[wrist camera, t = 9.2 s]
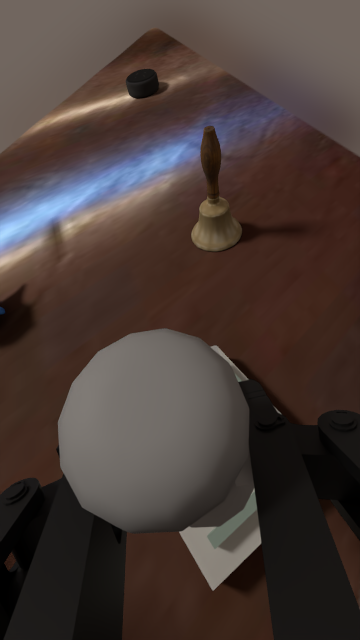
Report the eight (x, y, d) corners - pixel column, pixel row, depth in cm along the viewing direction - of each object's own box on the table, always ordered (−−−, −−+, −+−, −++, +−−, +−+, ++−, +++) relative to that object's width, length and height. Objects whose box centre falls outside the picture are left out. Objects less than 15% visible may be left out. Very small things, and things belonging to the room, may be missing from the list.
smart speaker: (146, 82, 83) (142, 65, 80) (165, 88, 79) (162, 70, 76) (123, 96, 81) (118, 79, 78) (142, 102, 77) (137, 84, 74)
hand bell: (188, 222, 49) (170, 121, 35) (235, 212, 48) (235, 105, 35) (195, 256, 45) (178, 156, 31) (247, 245, 44) (252, 138, 30)
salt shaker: (186, 547, 15) (31, 718, 4) (140, 444, 18) (-18, 369, 7) (277, 482, 15) (377, 464, 4) (218, 394, 18) (191, 253, 7)
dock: (126, 428, 33) (111, 421, 29) (218, 356, 35) (216, 340, 31) (215, 580, 25) (211, 597, 21) (325, 472, 27) (340, 469, 23)
